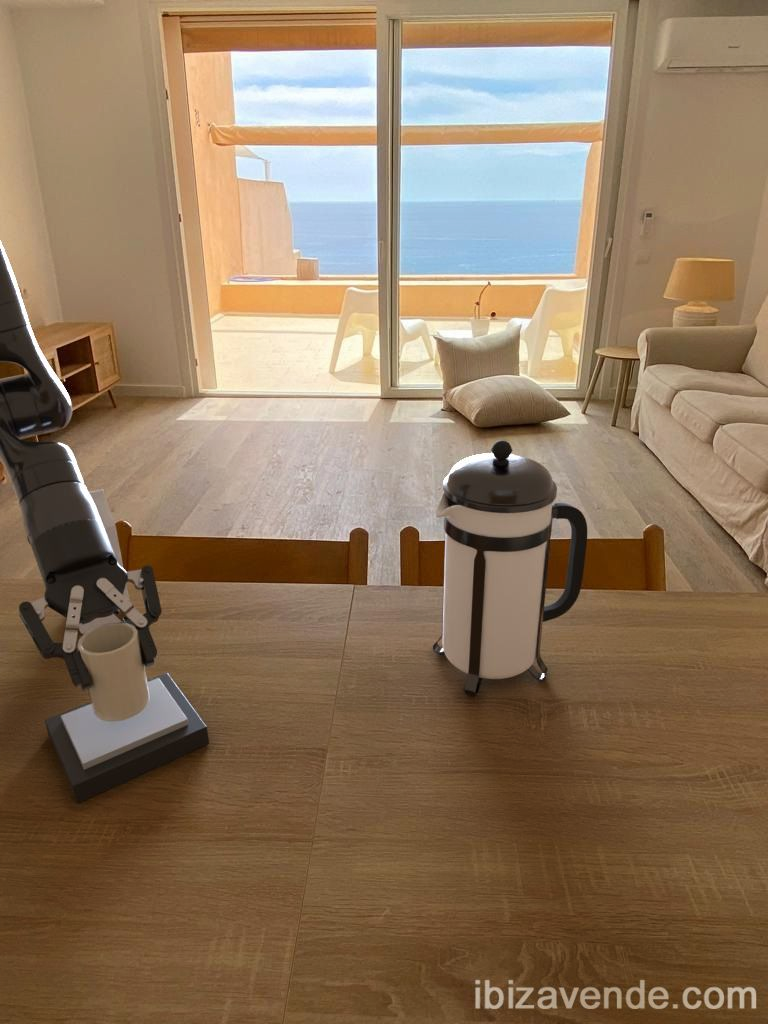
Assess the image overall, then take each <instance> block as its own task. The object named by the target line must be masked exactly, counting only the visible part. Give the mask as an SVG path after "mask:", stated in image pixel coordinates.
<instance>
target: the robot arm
mask: <svg viewBox="0 0 768 1024" xmlns="http://www.w3.org/2000/svg"><path fill="white" fill-rule="evenodd" d="M0 363H10V364H11V363H12V364H16V365H18V366H20V367H22V368H23V369H24V370H25V371H26V373H23V374H18V375H13V376H8V377H3V378H0V462H1V464H2V466H3V467H4V469H5V472H6V473H7V475H8V478H9V480H10V483H11V486H12V488H13V491H14V494H15V497H16V500H17V502H18V505H19V508H20V512H21V518H22V523H23V526H24V530H25V533H26V539H27V542H28V544H29V545H30V547H31V550H32V553H33V555H34V558H35V561H36V564H37V567H38V570H39V572H40V575H41V579H42V581H43V584H44V587H45V591H44V596H42V597H40V598H38V599H35V600H32V601H31V602H30V601H28V600H27V601H26V600H25V601H22V602H21V603H20V604H19V606H18V613H19V617H20V620H21V621H22V623H23V625H24V627H25V628H26V630H27V632H28V634H29V636H30V637H31V639H32V641H33V642H34V645H35V647H36V648H37V650H38V652H39V654H40V655H41V657H42V658H43V659H45V660H50V659H55V658H56V659H57V658H59V659H62V660H63V661H64V663H65V666H66V668H67V672H68V675H69V677H70V680H71V683H72V685H73V686H75V688H79V687H81V690H82V691H83V692H85V691H88V689H90V688H91V682H90V679H89V676H88V673H87V671H86V668H85V665H84V662H83V660H82V658H81V655H80V652H79V651H78V649H77V640H78V633H79V628H78V627H79V623H82V625H83V624H86V623H89V622H91V621H93V620H94V619H96V618H103V617H107V616H110V615H112V614H114V615H115V616H116V617H117V618H118V619H119V620H121V621H122V623H128V624H130V625H133V626H134V627H135V628H136V630H137V631H138V636H139V641H140V646H141V651H142V656H143V661H144V666H145V668H148V667H151V666H153V665H154V663H155V659H156V657H157V655H158V649H157V646H156V643H155V642H154V641H155V640H154V638H153V636H152V633H151V630H150V627H151V626H152V625H153V624H154V623H157V622H158V621H159V619H160V616H161V615H162V612H163V611H162V605H161V601H160V596H159V592H158V587H157V586H158V585H157V582H156V577H155V573H154V569H153V566H151V565H149V564H145V565H144V566H142V567H141V569H135V570H128V571H126V569H123V568H124V567H123V568H122V567H121V566H120V565H119V564H118V562H117V559H116V557H115V554H114V552H113V549H112V546H111V544H110V541H109V539H108V536H107V533H106V531H105V528H104V525H103V523H102V520H101V518H100V515H99V512H98V510H97V507H96V505H95V503H94V501H93V499H92V497H91V496H90V494H89V492H90V491H89V490H88V487H87V485H86V483H85V481H84V478H83V475H82V472H81V470H80V468H79V464H78V461H77V459H76V456H75V455H74V453H73V450H72V449H71V448H70V447H69V446H68V445H66V444H64V443H62V442H59V441H49V440H47V441H45V440H44V441H29V440H24V439H28V438H31V437H36V436H40V435H43V434H44V435H46V434H48V433H53V432H57V431H60V430H63V429H65V428H67V426H68V424H69V423H70V421H71V420H72V416H73V404H72V400H71V397H70V395H69V392H67V390H66V388H65V386H64V385H63V383H62V382H61V380H60V379H59V378H58V376H57V374H56V373H55V371H54V370H53V369H52V367H51V365H50V363H49V361H47V359H46V357H45V355H44V354H43V352H42V350H41V348H40V347H39V344H38V342H37V340H36V338H35V335H34V332H33V330H32V327H31V324H30V321H29V318H28V314H27V310H26V307H25V305H24V302H23V298H22V295H21V292H20V289H19V287H18V282H17V280H16V277H15V274H14V271H13V269H12V266H11V264H10V261H9V259H8V256H7V253H6V251H5V248H4V246H3V244H2V241H1V240H0ZM128 583H131V584H132V585H133V587H134V588H135V590H138V591H141V595H142V600H143V605H144V609H145V612H144V613H143V614H142V613H141V612H140V611H139V610H138V609H137V608H136V607H135V606H134V604H133V603H132V602H131V601H129V600H130V599H129V600H128V599H127V598H126V597H125V596H123V592H124V589H125V586H126V584H128ZM46 608H50V609H51V610H53V611H54V612H56V613H58V614H59V615H61V616H62V617H64V618H66V622H65V629H64V635H63V642H62V641H61V642H54V641H53V639H52V637H51V636H50V633H48V631H47V629H46V627H45V626H44V623H43V621H44V620H45V619H46V612H45V610H46ZM118 610H119V611H118Z"/></svg>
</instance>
